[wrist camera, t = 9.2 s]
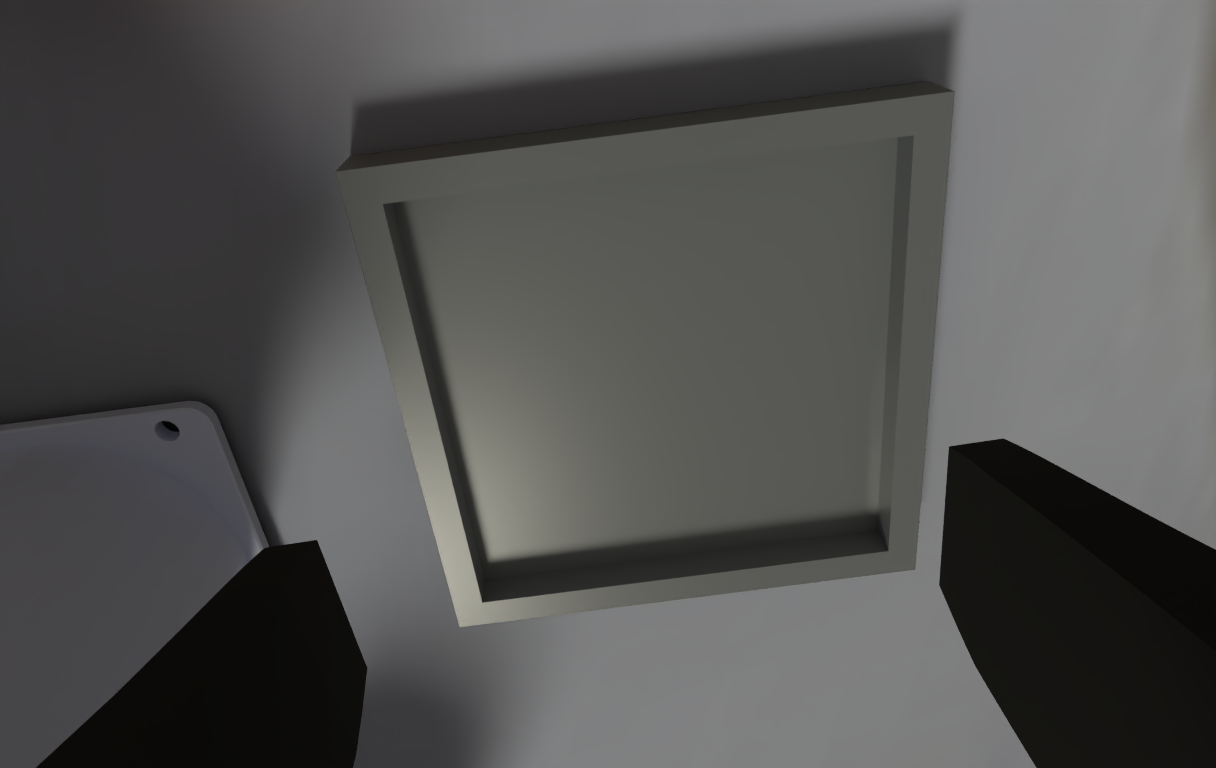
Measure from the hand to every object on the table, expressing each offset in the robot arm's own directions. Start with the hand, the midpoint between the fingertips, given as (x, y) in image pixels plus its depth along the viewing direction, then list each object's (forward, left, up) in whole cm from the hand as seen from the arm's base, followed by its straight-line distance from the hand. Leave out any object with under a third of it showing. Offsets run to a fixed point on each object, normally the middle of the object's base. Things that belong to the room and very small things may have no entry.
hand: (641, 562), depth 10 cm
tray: (+1, -3, -9) cm, 10 cm away
